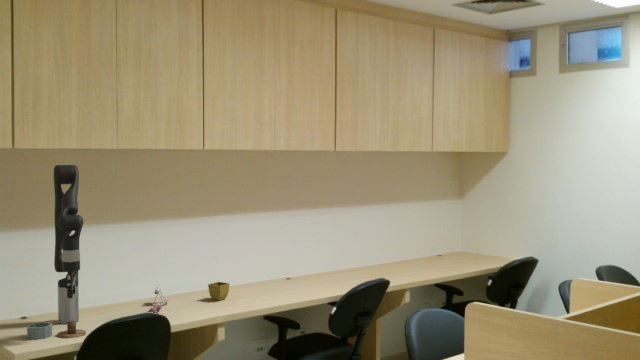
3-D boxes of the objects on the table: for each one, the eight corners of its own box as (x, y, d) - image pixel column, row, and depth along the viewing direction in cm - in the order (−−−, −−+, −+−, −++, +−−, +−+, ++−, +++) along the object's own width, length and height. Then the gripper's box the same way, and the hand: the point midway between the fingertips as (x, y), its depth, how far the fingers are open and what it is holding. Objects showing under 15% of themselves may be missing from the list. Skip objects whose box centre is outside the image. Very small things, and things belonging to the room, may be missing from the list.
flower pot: (219, 302, 360) (219, 285, 360) (207, 300, 365) (207, 284, 365) (230, 299, 368) (230, 283, 368) (218, 297, 372) (218, 281, 372)
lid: (63, 331, 299) (63, 318, 299) (89, 331, 299) (89, 318, 299) (52, 338, 287) (52, 325, 287) (80, 338, 287) (80, 325, 287)
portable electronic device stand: (167, 305, 352) (167, 290, 351) (152, 306, 350) (152, 290, 350) (168, 302, 360) (168, 287, 360) (153, 302, 359) (153, 287, 359)
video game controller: (150, 321, 323) (156, 309, 323) (142, 317, 324) (148, 304, 323) (158, 316, 333) (164, 304, 332) (151, 312, 334) (156, 300, 333)
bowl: (33, 333, 295) (33, 322, 295) (55, 333, 295) (55, 322, 295) (23, 339, 285) (23, 327, 285) (46, 339, 285) (46, 327, 285)
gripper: (64, 257, 298) (64, 293, 298) (59, 262, 284) (59, 299, 285) (81, 257, 300) (82, 292, 300) (77, 261, 286) (78, 299, 286)
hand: (71, 296), depth 292 cm, fingers open, 8 cm apart
